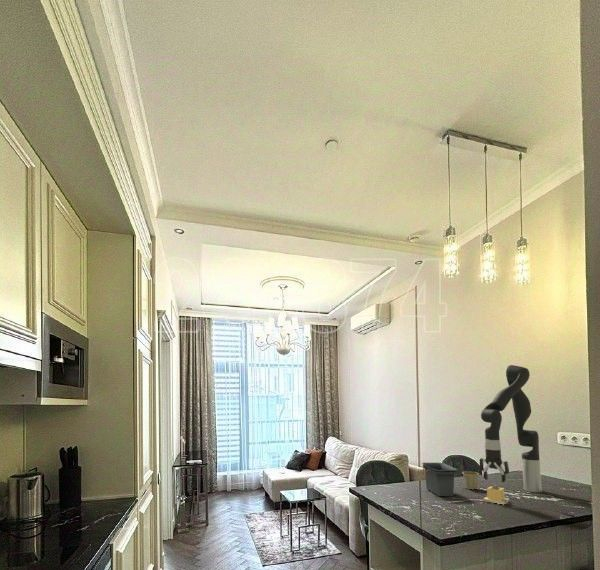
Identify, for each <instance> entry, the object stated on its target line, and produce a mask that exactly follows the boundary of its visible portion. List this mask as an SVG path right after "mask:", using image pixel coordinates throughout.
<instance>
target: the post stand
mask: <svg viewBox="0 0 600 570" xmlns="http://www.w3.org/2000/svg"><path fill="white" fill-rule="evenodd" d="M492 487H493V489H497V490H498V487H499V485H497V484H493V485H492ZM483 501H485V502H484V503H487V502H492V503H491V504H493V503H497V504H496V505H499V504H503V505H502V506H505V505H506V504H508V503H509V502H510V498H507V497H505V499H503V500H501V501H498V500H492V499H487V496H486V497H484V498H482V502H483ZM508 501H509V502H508ZM507 502H508V503H507ZM505 503H506V504H505ZM504 504H505V505H504Z"/></svg>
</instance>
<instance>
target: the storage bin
mask: <svg viewBox="0 0 600 570" xmlns="http://www.w3.org/2000/svg"><path fill="white" fill-rule="evenodd" d="M421 464H422V475H423V477H425V484H426V490H427V489H428V490H427V491H429V490H430V491H429V492H431V493H432V492H433V493H432V494H434V493H435V494H434V495H436V494H437V495H438V496H437V495H436V496H437V497H439V496H449V497H454V489H455V488H454V487H455V475H456V474H457V470H458V469H457V468H455V467H453V466H451V465H449V464H446V463H444V462H422V463H421Z"/></svg>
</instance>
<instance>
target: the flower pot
mask: <svg viewBox="0 0 600 570" xmlns="http://www.w3.org/2000/svg"><path fill="white" fill-rule="evenodd" d="M462 474H463V479H464V483H465V484H464V485H465V489H466V488H467V489H466V490H469V489H472V490H471V491H473V490H474V489H477V490H478V487H479V486H478V484H479V475H480V473H479V472H476V471H475V472H474V471H462Z"/></svg>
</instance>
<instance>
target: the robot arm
mask: <svg viewBox="0 0 600 570" xmlns="http://www.w3.org/2000/svg"><path fill="white" fill-rule="evenodd" d="M505 375H506V376H505V377H506V381H507V384H508V386H506V387H505V388H502V389H501V390H500V391H498V393H497V394H496V395H495V397H494V398H493V400H492V401H491V402H490V403H488V404H487V405H486V406H485V407H484V408H483V409H482V410H481V413H480V419H481V420H482V421H483V422H485V423H488V424H489V423H490V426H489V427H486V428H485V429H484V435H485V436H484V437H485V439H484V440H485V441H484V444H485V445H484V449H485V458H481V457H480V459H479V471H481V472H483V479H484V480H485V481H487V480H488V479H489V477H488V476H489V475H488V470H489V469H491V470H492V469H493V470H494V469H495V470H498V471H499V472H500V474H501V482H502V483H505V482H506V479H507V478H506V475H508V474H509V473H510V469H509V468H510V467H509V461H507V460H506V461H504V460H503V459H502V450H501V440H500V431H501V430H500V429H501V425H502V421H503V416H502V413H501V412H502V411H504V410H505V409H506V407H507V406H508V405H509V403H510V402H511V401H512V402H511V403H512V408H513V412H514V413H513V414H514V417H515V424H516V432H517V433H516V434H517V441H518V444H519V445H520V446H521V447H529V448H532V449H531V450H529V451H526V452H522V453H521V463H522V464H521V465H522V479H523V483H522V484H523V490H524V491H525V492H529V493H542V492H543V491H542V489H543V488H542V475H541V464H540V463H541V461H540V445H539V443H540V442H539V441H540V440H539V439H540V438H539V433H538V431H537V430H528V429H524V426H525V424H526V422H527V421H528V419H529V418H530V416H531V414H532V406H531V402H530V399H529V397H528V396H527V395H526V393H525V392H524V391H523V390H522V388H523V387H524V386H525V385H526V384H527V382H528V381H529V379H530V371H529V369H528V368H527V367H524V366H519V365H515V364H514V365H513V364H510V365H508V366H507V367H506V371H505ZM502 460H503V461H502ZM484 463H485V464H486V466H485V467H484ZM502 465H503V466H502Z"/></svg>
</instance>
